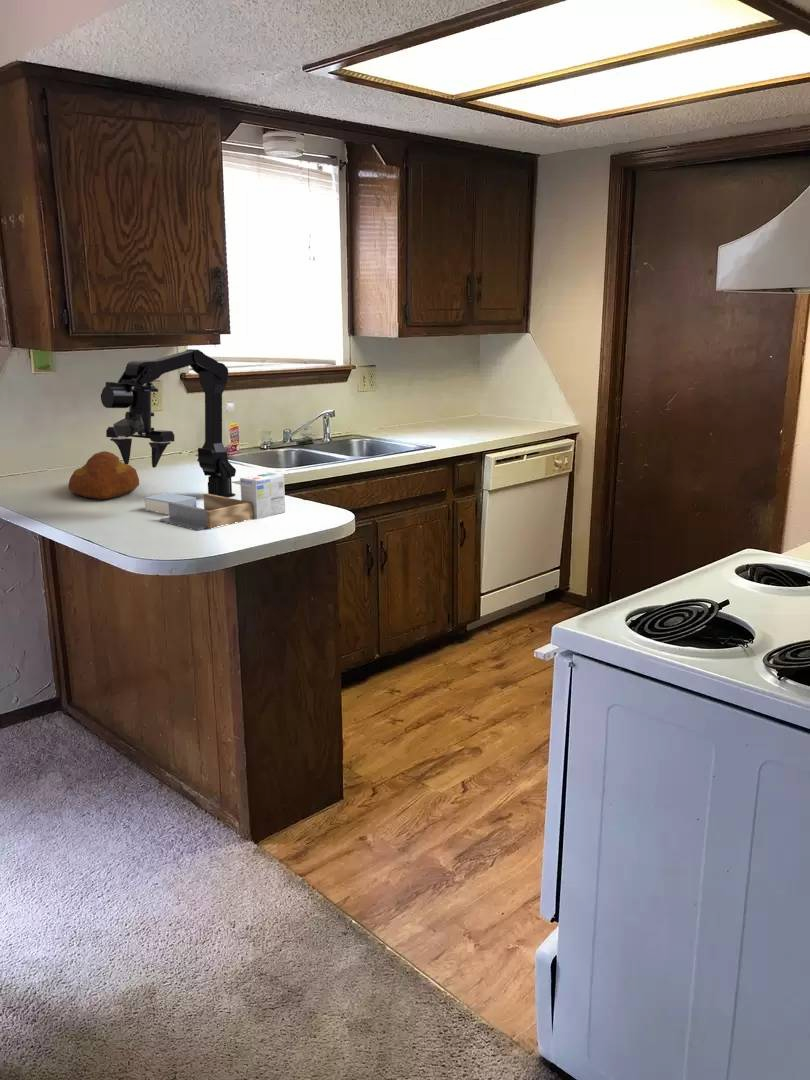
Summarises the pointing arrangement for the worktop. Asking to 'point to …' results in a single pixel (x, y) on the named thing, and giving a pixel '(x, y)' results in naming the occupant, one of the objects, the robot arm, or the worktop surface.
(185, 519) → the grey angle iron
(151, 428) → the robot arm
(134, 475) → the bread
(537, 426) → the worktop surface
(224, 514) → the oak shelf corner
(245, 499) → the light bulb box
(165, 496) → the boxed book
